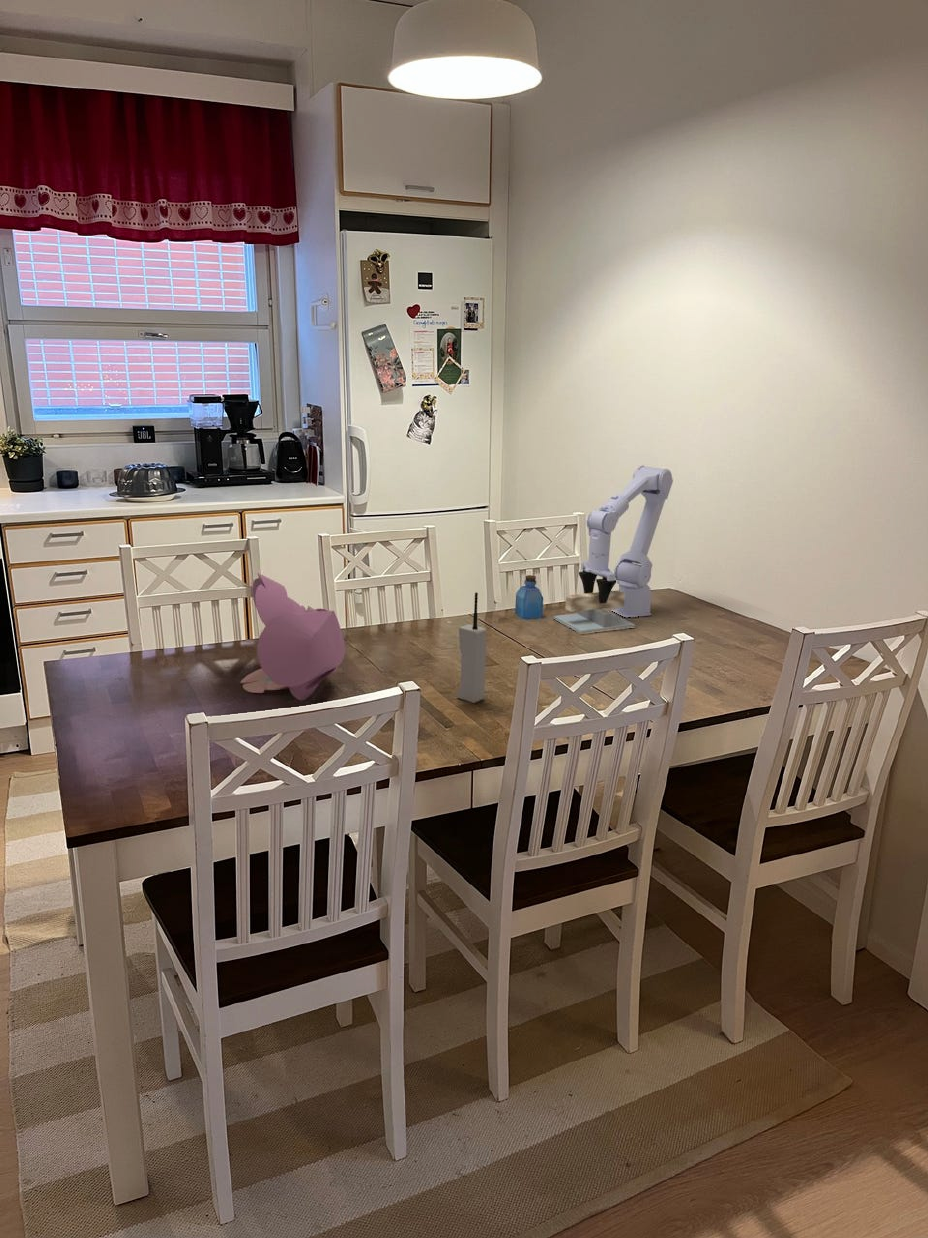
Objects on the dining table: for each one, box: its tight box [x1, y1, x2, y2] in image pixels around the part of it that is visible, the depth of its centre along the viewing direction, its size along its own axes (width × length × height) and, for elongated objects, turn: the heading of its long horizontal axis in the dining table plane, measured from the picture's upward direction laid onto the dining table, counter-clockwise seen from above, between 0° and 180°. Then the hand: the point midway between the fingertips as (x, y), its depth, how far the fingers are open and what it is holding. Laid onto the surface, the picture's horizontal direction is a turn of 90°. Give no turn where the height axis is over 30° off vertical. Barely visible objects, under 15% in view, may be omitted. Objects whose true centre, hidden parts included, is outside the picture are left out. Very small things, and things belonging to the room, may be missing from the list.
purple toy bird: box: [240, 572, 346, 701], centre depth 209 cm, size 35×24×28 cm
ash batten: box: [564, 589, 625, 613], centre depth 263 cm, size 18×3×4 cm, turn 115°
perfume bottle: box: [514, 574, 544, 620], centre depth 270 cm, size 6×6×12 cm
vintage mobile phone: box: [456, 591, 488, 704], centre depth 204 cm, size 4×5×25 cm
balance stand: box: [553, 608, 636, 633], centre depth 265 cm, size 18×15×5 cm
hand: (595, 599), depth 263 cm, fingers open, 7 cm apart
